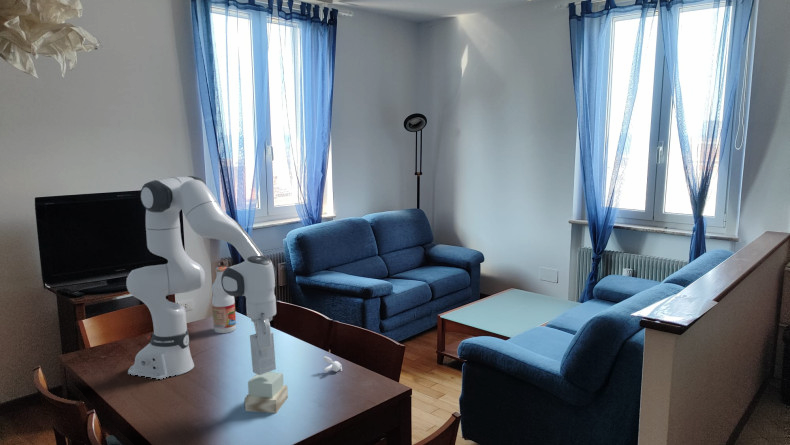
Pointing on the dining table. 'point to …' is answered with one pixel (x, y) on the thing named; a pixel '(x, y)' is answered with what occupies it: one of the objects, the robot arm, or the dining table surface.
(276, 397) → the birch base block
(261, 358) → the skincare box
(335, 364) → the rabbit figurine
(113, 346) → the dining table surface
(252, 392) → the sage top block
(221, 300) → the fruit juice
